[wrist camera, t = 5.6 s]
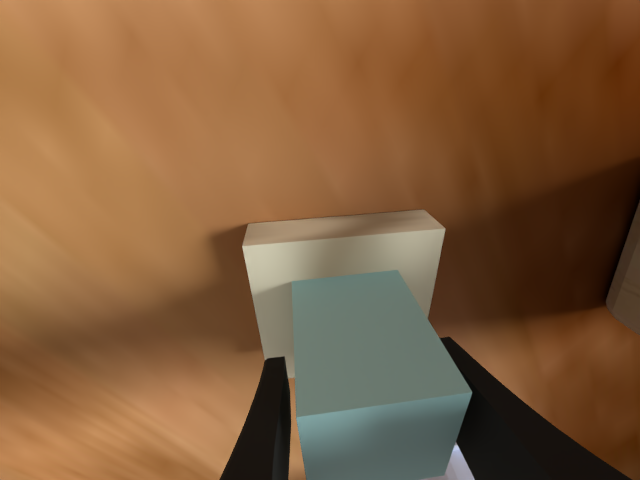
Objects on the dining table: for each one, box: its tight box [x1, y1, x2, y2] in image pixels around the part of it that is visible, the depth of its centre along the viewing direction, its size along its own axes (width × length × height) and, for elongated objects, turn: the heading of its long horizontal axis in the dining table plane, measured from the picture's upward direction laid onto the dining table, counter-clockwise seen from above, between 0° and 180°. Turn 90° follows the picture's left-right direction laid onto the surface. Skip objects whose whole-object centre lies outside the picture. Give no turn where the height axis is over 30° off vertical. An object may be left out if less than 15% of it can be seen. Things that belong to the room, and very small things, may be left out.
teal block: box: [292, 270, 472, 480], centre depth 11 cm, size 4×4×6 cm
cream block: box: [242, 209, 445, 378], centre depth 14 cm, size 8×8×2 cm
